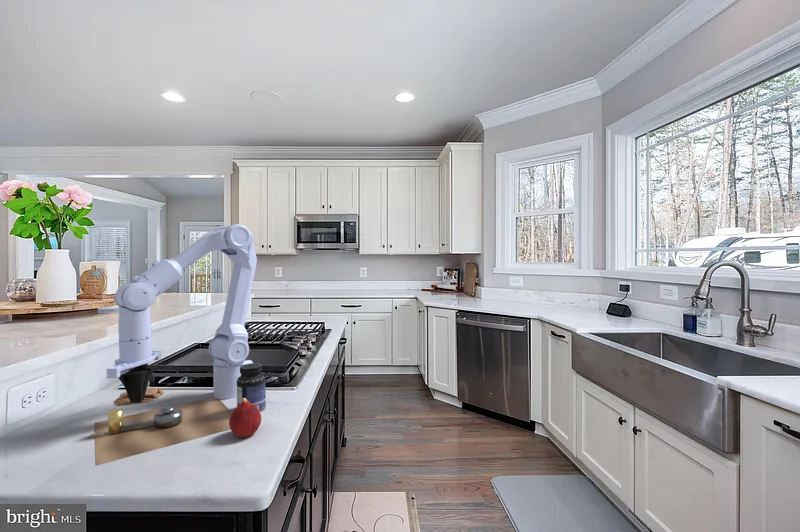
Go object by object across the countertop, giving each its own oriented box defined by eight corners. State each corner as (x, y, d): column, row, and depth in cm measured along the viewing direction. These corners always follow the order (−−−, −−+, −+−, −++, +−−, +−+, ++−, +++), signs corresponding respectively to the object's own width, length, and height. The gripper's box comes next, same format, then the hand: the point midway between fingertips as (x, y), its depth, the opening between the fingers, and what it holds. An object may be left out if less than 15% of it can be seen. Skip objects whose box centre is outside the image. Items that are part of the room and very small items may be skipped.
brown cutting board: (216, 400, 96) (216, 395, 96) (244, 430, 79) (244, 424, 79) (88, 428, 81) (88, 422, 81) (89, 473, 64) (88, 465, 64)
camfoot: (183, 416, 84) (183, 397, 83) (180, 425, 79) (180, 405, 79) (112, 427, 78) (111, 407, 78) (105, 437, 74) (104, 416, 74)
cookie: (172, 395, 101) (172, 384, 101) (142, 411, 90) (142, 399, 90) (137, 394, 102) (137, 383, 102) (103, 410, 91) (103, 397, 91)
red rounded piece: (267, 434, 77) (267, 394, 77) (247, 447, 72) (246, 405, 72) (244, 430, 79) (243, 391, 79) (222, 443, 74) (222, 401, 74)
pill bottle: (270, 408, 91) (269, 362, 91) (259, 419, 85) (258, 369, 85) (244, 408, 91) (244, 362, 91) (231, 418, 85) (231, 369, 85)
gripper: (138, 332, 90) (140, 390, 90) (90, 346, 75) (92, 415, 75) (169, 331, 90) (170, 389, 90) (126, 346, 75) (128, 414, 76)
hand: (137, 401), depth 83 cm, fingers closed
